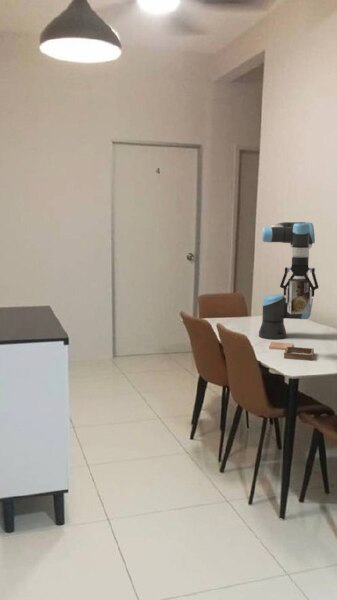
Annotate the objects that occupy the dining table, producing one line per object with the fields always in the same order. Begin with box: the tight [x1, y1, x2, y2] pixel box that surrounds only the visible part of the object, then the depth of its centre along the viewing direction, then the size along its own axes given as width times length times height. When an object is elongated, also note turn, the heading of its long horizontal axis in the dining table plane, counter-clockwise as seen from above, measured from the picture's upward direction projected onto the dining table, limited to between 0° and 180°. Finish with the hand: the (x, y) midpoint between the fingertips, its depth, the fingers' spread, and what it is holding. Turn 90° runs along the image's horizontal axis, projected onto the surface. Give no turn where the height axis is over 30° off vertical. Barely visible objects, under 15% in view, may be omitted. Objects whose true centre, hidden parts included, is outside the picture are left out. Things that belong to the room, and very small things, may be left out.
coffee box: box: [287, 278, 311, 314], centre depth 246 cm, size 9×6×16 cm
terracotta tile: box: [268, 341, 294, 351], centre depth 265 cm, size 11×11×1 cm
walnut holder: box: [283, 346, 315, 361], centre depth 248 cm, size 13×13×2 cm
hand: (298, 302), depth 246 cm, fingers closed on coffee box, 10 cm apart
